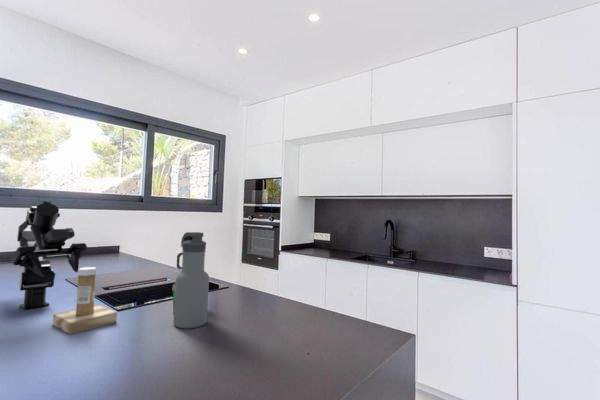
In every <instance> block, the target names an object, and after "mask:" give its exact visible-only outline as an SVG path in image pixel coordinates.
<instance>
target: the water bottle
mask: <svg viewBox="0 0 600 400" xmlns="http://www.w3.org/2000/svg"><path fill="white" fill-rule="evenodd" d="M204 234H205V233H204V232H200V231H199V232H198V231H190V232H189V231H188V232H185V233H184V234H183V236H182V237H181V242H180V247H181V249H182V251H181V252H180V253H178V254H177V256H176V268H177V269H179V270H181V271H180V272H179V273H177V275H176V277H175V283H174V284H175V303H174V314H173V326H175V327H177V328H178V329H182V330H184V329H185V330H187V329H189V330H190V329H196V328H199V327H202V326H204V325H206V323H207V321H208V310H209V308H208V307H209V289H210V288H209V287H210V285H209V284H210V276H209V273H207V272H206V271H205V259H206V255H205V254H206V252H207V251H206V250H207V249H206V247H207V242H206V241H204V240H203V237H204ZM181 256H182V261H181V266H180V260H181Z"/></svg>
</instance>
